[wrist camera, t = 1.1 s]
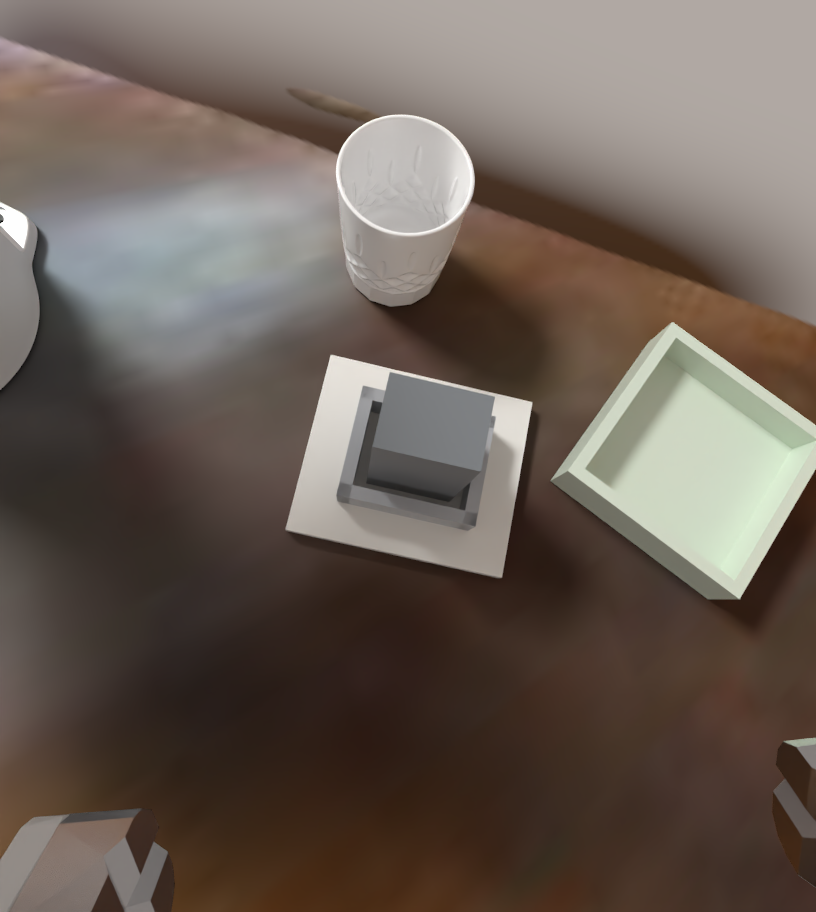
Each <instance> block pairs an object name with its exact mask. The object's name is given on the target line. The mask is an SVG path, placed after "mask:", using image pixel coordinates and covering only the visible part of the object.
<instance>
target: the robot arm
mask: <svg viewBox="0 0 816 912" xmlns="http://www.w3.org/2000/svg"><path fill="white" fill-rule="evenodd" d="M1 220H4V221H3V223H2V224H0V390H1V389H2V388H3V387H4V386H5V385H6V384H7V383H8V382H9V381H10V380H11V379H12V377H13V376H14V375H15V374H16V373H17V371H18V370H19V369H20V367H21V366H22V364H23V363H24V361H25V359H26V358H27V356H28V354H29V352H30V350H31V348H32V345H33V343H34V340H35V337H36V333H37V329H38V324H39V314H40V305H39V296H38V291H37V287H36V283H35V279H34V275H33V270H32V261H33V257H34V253H35V249H36V244H37V228H36V226H35V224H34V223H33V222H32V221H31V220H30V219H29V218H28V217H26V216H25V215H24V214H23V213H21V212H19V211H17V210H15V209H13V208H11V207H9V206H7V205H5V204H3V203H1V202H0V221H1ZM776 766H777V767H778V769H779V770H780V772H781V773H782V775H783V776H784V778H785V779H784V780H783V781H782V782H781V784H780V785H779V786H778V787H777V788H776V789H775V790H774V791H773V807H772V813H773V817H774V821H775V826H776V830H777V834H778V837H779V839H780V842H781V844H782V846H783V848H784V851H785V853H786V855H787V857H788V859H789V860H790V862H791V864H792V865H793V867H794V869H795V871H796V872H797V874H798V875H799V876H800V877H802V878H803V879H804V880H806V881H807V882H809V883H810V884H811V885H813V886H814V887H816V738H808V739H800V740H791V741H783V743H782V744H781V745H780V747H779V748H778V751H777V760H776ZM158 829H159V826H158V823H157V821H156V819H155V816H154V814H153V812H152V809H143V808H142V809H129V810H115V811H102V812H88V813H75V814H68V815H56V816H44V817H34V818H32V819H31V820H30V821H29V822H27V823H26V824H25V825H24V826H22V827H21V828H20V830H19V831H18V833H17V834H16V836H15V838H14V839H13V841H12V842H11V844H10V845H9V847H8V849H7V850H6V852H5V853H4V855H3V857H2V858H1V860H0V912H171V910H172V902H173V894H174V886H175V882H174V872H173V865H172V862H171V859H170V856H169V853H168V852H167V851H166V850H165V849H163V848H162V847H160V846H159V845H158V844H156V843H155V842H154V839H155V837H156V834H157V832H158Z"/></svg>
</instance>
